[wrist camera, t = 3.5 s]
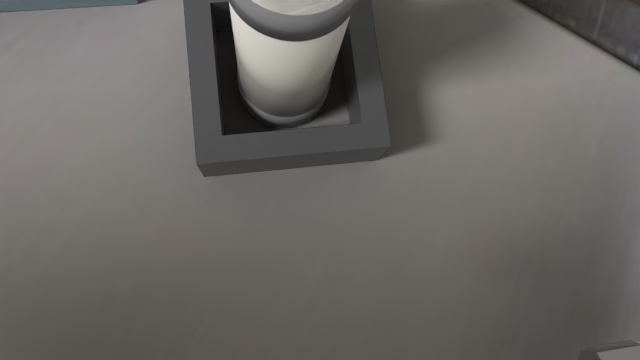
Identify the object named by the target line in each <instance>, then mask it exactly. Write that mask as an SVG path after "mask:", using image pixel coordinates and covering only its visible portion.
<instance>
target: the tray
mask: <svg viewBox="0 0 640 360" xmlns="http://www.w3.org/2000/svg"><path fill="white" fill-rule="evenodd" d="M126 4H138V0H0V12H10V11H26V10H43V9H59V8H76V7H93V6H109V5H126Z"/></svg>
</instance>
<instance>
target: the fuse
mask: <svg viewBox="0 0 640 360" xmlns="http://www.w3.org/2000/svg"><path fill="white" fill-rule="evenodd" d="M357 2H358V0H229V6H230V14H231V21H232V28H233V35H234V43H235V50H236V57H237V65H238V67H237V80H238V86H239V93H240V97H241V100H242V102H243V104H244V106H245V107H246V109H247V110H248V111H249V113H250V114H251V115H252V116H253V117H254V118H256V119H257V120H259V121H260V122H262V123H264V124H266V125H269V126H272V127H276V128H292V127H297V126H300V125H302V124H305V123H306V122H308V121H310V120H311V119H312V118H314V117H315V116H316V115H317V114H318V113H319V111H320V110H321V108H322V107H323V105H324V103H325V100H326V97H327V94H328V91H329V88H330V84H331V75H332V72H333V69H334V66H335V62H336V59H337V56H338V53H339V50H340V47H341V43H342V40H343V37H344V34H345V31H346V28H347V25H348V21H349V18H350V15H351V13H352V12H353V10H354V8H355V7H356V5H357Z"/></svg>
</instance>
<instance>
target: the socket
mask: <svg viewBox="0 0 640 360" xmlns="http://www.w3.org/2000/svg"><path fill="white" fill-rule="evenodd" d="M183 3H184V15H185V27H186V40H187V52H188V64H189V77H190V89H191V101H192V113H193V126H194V138H195V150H196V163H197V166H198V167H199V169H200V171H201V172H202V174H203V176H204V177H207V176H218V175H228V174H238V173H249V172H259V171H269V170H280V169H290V168H301V167H311V166H321V165H332V164H342V163H352V162H363V161H373V160H379V159H380V158H381V157H382V155H383V154H384V153H385V152H386V151H387V150H388V149H389V148H390V147H391V141H390V134H389V127H388V120H387V112H386V105H385V98H384V91H383V84H382V77H381V70H380V63H379V56H378V49H377V42H376V35H375V28H374V21H373V14H372V7H371V0H358V2H357V5H356V7H355V8H354V10H353V12H352V13H351V15H350V18H349V21H348V25H347V28H346V31H345V34H344V37H343V40H342V43H341V47H340V49H341V57H342V64H343V72H344V80H345V87H346V95H347V103H348V110H349V118H350V124H348V125H336V126H325V127H314V128H302V129H291V130H280V131H268V132H257V133H246V134H234V135H225V128H224V117H223V106H222V95H221V84H220V73H219V62H218V51H217V40H216V31H228V30H233V28H232V21H231V14H230V6H229V0H183Z"/></svg>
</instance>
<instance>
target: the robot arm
mask: <svg viewBox="0 0 640 360" xmlns="http://www.w3.org/2000/svg"><path fill="white" fill-rule="evenodd" d="M578 360H640V340H635V341H625V342H618V343H612V344H606V345H600V346H594V347H587V348H585V349H584V350H582V351H581V353H580V355H579V357H578Z"/></svg>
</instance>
